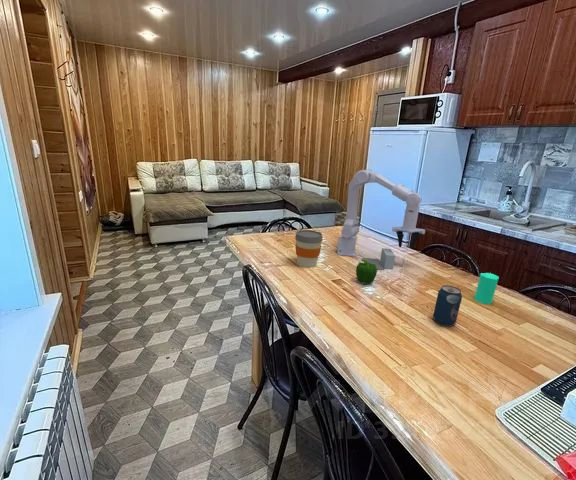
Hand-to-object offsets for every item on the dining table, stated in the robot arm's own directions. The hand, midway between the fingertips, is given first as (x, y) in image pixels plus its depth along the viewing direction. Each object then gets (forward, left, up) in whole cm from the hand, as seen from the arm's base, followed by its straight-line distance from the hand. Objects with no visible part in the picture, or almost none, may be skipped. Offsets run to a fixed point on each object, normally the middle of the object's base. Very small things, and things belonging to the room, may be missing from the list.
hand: (405, 247), depth 148 cm
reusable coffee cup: (-46, -7, -10) cm, 48 cm away
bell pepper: (-21, -22, -10) cm, 32 cm away
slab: (-8, 0, -10) cm, 12 cm away
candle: (+23, -30, -10) cm, 39 cm away
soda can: (+1, -49, -10) cm, 50 cm away
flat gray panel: (-14, 0, -10) cm, 17 cm away
